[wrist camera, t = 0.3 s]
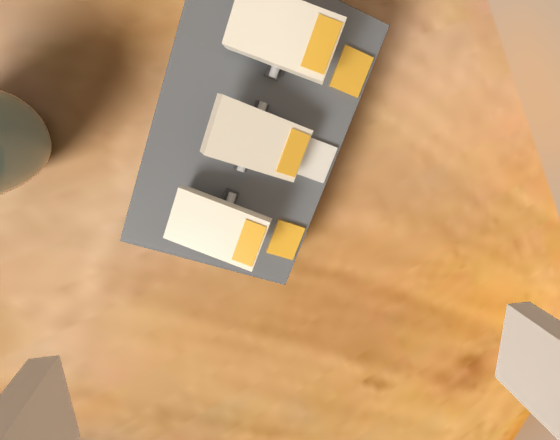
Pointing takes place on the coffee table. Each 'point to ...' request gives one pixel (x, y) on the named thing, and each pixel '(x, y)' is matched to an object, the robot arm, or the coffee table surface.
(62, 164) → the coffee table surface
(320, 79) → the block
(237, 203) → the console
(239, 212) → the rocker
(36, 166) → the cup
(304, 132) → the rocker
